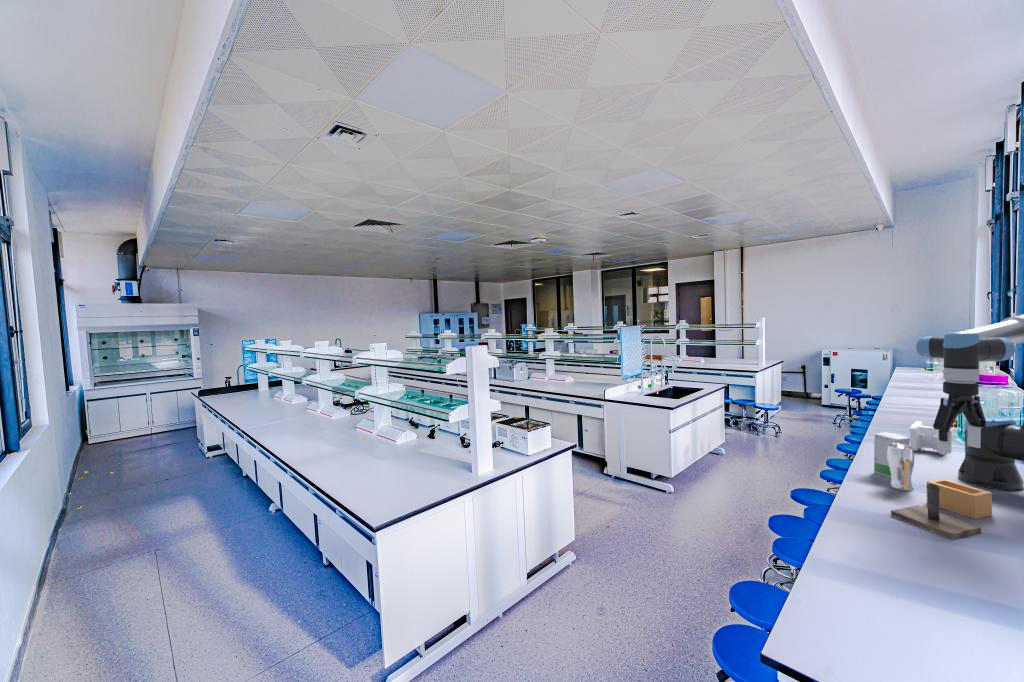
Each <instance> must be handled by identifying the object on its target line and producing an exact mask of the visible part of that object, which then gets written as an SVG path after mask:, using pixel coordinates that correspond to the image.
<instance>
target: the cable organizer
mask: <svg viewBox="0 0 1024 682" xmlns="http://www.w3.org/2000/svg"><path fill="white" fill-rule="evenodd" d="M908 431H909V438H910V446H912V447H913V452H917V451H918V450H919V449H920V448H921V449H923V450H924V449H925V448H927V449H932V451H933V452H934V450H935V451H937V453H938V454H939V455H940V456H944V455H945V453H946V452H944V451H939V450H938V448H939V430H937V429H934V428H933V426H926V425H924V423H923V421H918V420H917V421H915V422H914V423H912V425H911V426H909V427H908Z"/></svg>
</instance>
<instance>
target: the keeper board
mask: <svg viewBox="0 0 1024 682" xmlns="http://www.w3.org/2000/svg"><path fill="white" fill-rule="evenodd" d="M925 488H926V496H927V495H928V503H927V507H924V506H921V505H918V504H916V505H911V506H906V507H901V508H898V509H894V510H893V509H892V510H890V515H893V516H892V517H894V516H896V517H899V518H901V519H903V520H902V521H904V520H906V521H905V522H907V521H908V522H907V523H909V522H911V523H910V524H912V523H913V525H914V524H915V525H914V526H917V525H918V526H917V527H919V526H921V527H920V528H922V527H923V528H922V529H924V528H926V529H925V530H927V529H928V530H927V531H930V530H932V531H934V532H933V533H935V532H936V533H935V534H937V533H938V534H937V535H940V534H941V535H940V536H942V535H943V537H945V536H946V537H945V538H947V537H948V539H950V540H956V539H960V538H964V537H968V536H973V535H977V534H980V533H982V527H981V526H978V525H975V524H972V523H969V522H967V521H964V520H961V519H958V518H956V517H953V516H949V515H947V514H944V513H941V512H940V507H939V491H940V488H939V486H937V485H936V484H932V483H931V484H928V485H927V484H926V487H925ZM896 517H895V518H896ZM899 518H898V519H899ZM901 519H900V520H901ZM932 531H931V532H932ZM955 538H956V539H955Z"/></svg>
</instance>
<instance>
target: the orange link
mask: <svg viewBox="0 0 1024 682" xmlns="http://www.w3.org/2000/svg"><path fill="white" fill-rule="evenodd" d="M931 483H932V484H936V485H937V486H939V488H940V491H939V506H940V507H939V508H941V507H943V508H942V509H944V508H945V510H947V509H948V511H950V510H951V511H950V512H954V513H956V514H960V515H963V516H966V517H968V518H970V519H971V518H972V519H974V520H978V519H981V518H987V517H990V515H991V516H993V493H992V492H991V491H988V490H984V489H982V488H981V489H980V488H977V487H974V486H970V485H966V484H963V483H959V482H956V481H952V480H949V479H945V478H938V479H933V480H927V481H926V486H927V485H928V484H931ZM927 502H928V495H927V494H926V503H927ZM986 516H987V517H986Z"/></svg>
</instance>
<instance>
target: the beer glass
mask: <svg viewBox="0 0 1024 682" xmlns="http://www.w3.org/2000/svg"><path fill="white" fill-rule="evenodd" d="M914 452H915V451H914V450H913V447H912V446H909V445H905V444H896V443H892V444H888V449H887V460H888V465H889V469H890V473H891V478H890V482H889V487H890V488H892V489H895V490H898V491H903V492H905V491H906V492H911V491H913V490H914V487H913V484H912V476H913V471H914V465H915V454H914Z"/></svg>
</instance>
